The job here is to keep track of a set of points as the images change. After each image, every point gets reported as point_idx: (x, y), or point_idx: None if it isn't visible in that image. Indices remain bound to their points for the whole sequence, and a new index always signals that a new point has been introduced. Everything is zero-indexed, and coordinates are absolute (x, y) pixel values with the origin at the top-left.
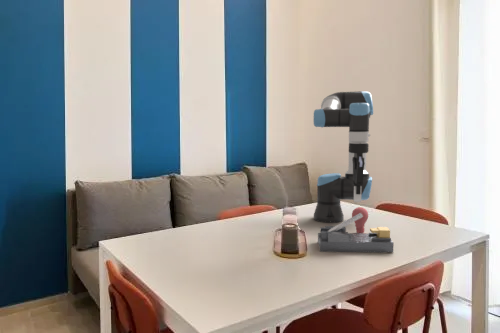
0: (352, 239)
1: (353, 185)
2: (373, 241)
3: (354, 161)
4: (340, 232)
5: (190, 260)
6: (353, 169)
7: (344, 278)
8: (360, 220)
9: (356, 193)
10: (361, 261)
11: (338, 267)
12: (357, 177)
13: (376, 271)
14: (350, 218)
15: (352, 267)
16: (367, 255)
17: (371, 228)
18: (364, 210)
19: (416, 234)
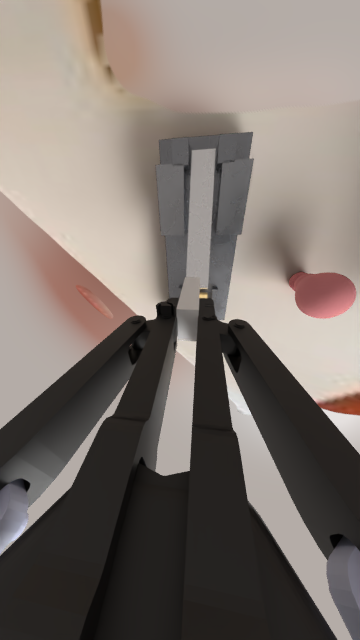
0: (184, 245)
1: (158, 303)
2: (174, 287)
3: (8, 611)
4: (177, 212)
5: None
6: (282, 410)
7: (31, 202)
8: (297, 289)
9: (173, 299)
10: (121, 248)
11: (77, 195)
12: (95, 352)
13: (85, 264)
14: (207, 252)
15: (87, 226)
16: (154, 265)
17: (204, 297)
18: (314, 312)
19: None
